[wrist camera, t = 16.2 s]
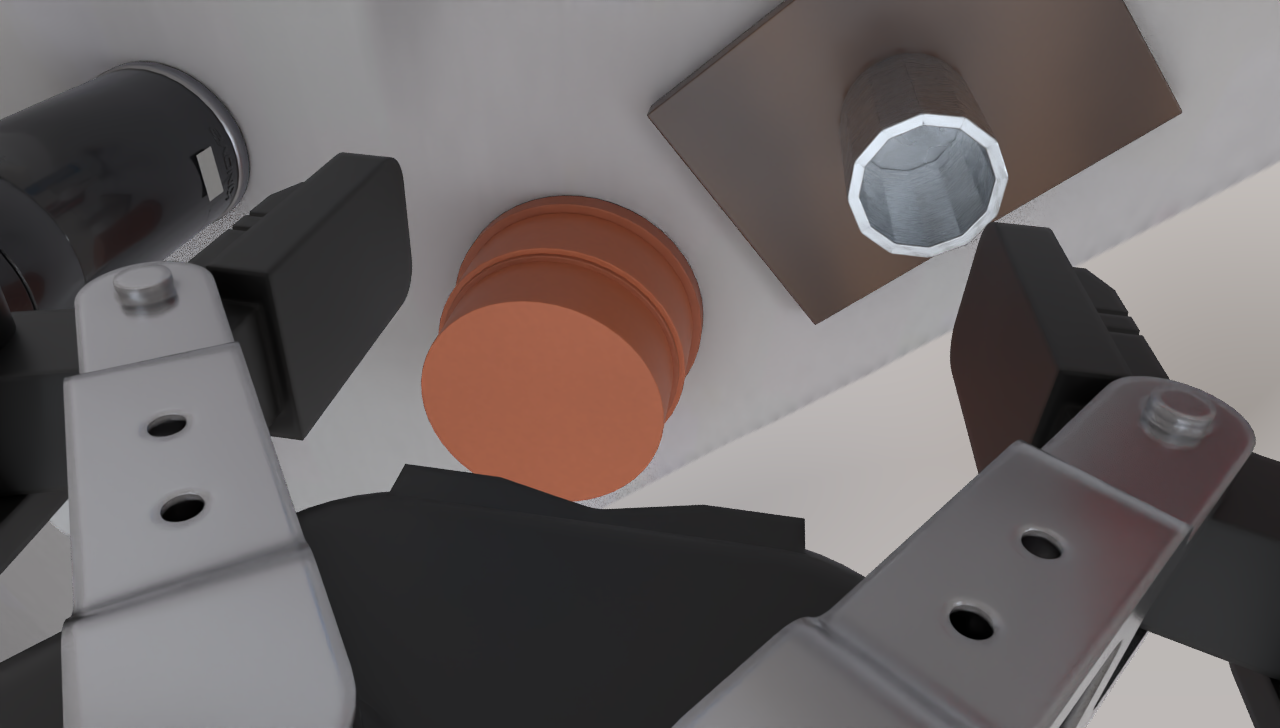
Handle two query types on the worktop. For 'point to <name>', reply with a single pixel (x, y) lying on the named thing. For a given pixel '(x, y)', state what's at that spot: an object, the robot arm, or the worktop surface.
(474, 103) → the worktop surface
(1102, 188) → the worktop surface
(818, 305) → the board
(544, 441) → the terracotta flower pot
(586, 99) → the worktop surface
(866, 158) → the steel cup
